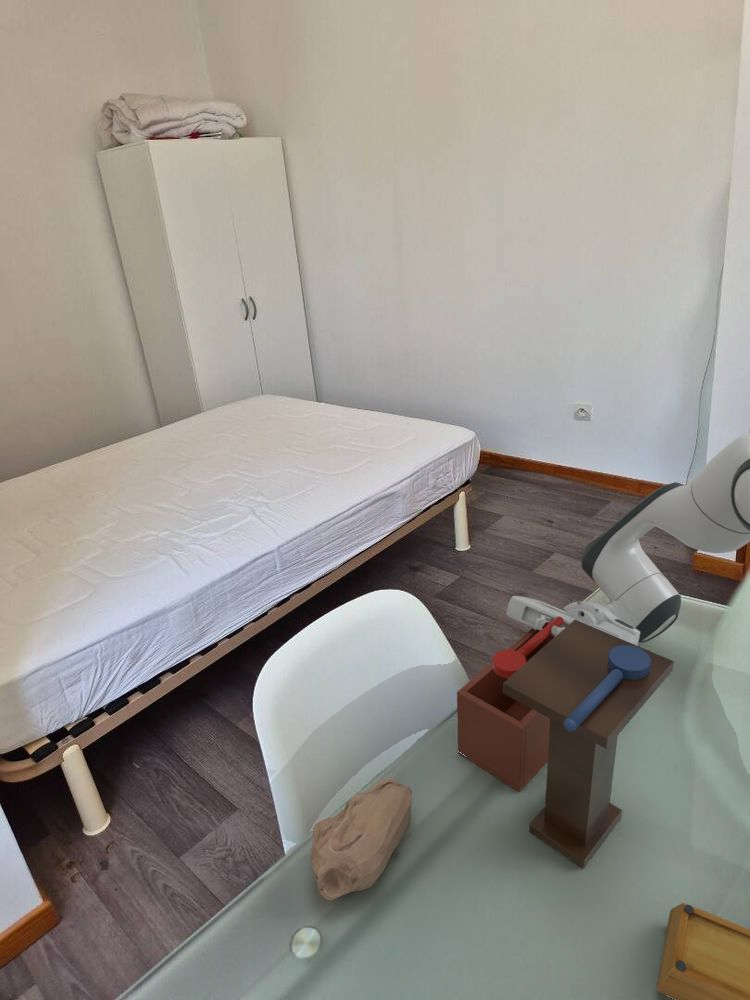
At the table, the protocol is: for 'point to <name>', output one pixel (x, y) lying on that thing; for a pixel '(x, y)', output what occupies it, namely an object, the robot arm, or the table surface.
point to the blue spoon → (612, 680)
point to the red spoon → (521, 652)
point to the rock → (360, 839)
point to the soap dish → (704, 957)
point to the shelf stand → (580, 734)
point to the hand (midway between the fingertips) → (546, 629)
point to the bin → (502, 726)
